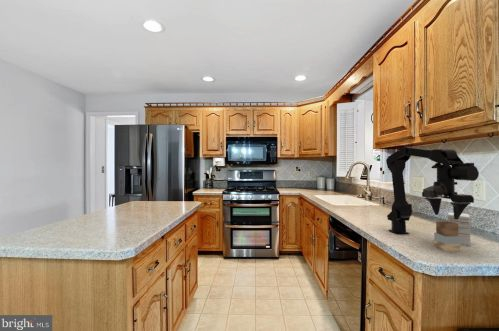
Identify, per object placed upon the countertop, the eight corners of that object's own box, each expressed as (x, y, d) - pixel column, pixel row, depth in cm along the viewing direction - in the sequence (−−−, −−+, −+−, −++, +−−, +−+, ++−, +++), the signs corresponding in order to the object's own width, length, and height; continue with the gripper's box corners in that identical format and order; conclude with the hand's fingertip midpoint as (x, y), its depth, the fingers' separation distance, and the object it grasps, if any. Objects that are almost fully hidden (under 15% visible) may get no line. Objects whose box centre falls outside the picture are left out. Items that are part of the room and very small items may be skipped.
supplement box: (447, 239, 111) (447, 211, 111) (469, 242, 106) (469, 213, 106) (448, 243, 105) (447, 214, 105) (470, 246, 101) (470, 216, 101)
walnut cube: (436, 233, 102) (436, 221, 102) (447, 232, 102) (447, 221, 102) (446, 236, 97) (446, 224, 97) (458, 236, 97) (458, 223, 97)
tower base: (434, 246, 102) (434, 239, 102) (447, 246, 102) (447, 239, 102) (446, 251, 96) (446, 244, 96) (460, 251, 96) (460, 243, 96)
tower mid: (434, 239, 102) (434, 232, 102) (447, 239, 102) (447, 232, 102) (446, 244, 96) (446, 236, 96) (460, 243, 96) (460, 236, 96)
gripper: (410, 178, 108) (410, 213, 108) (447, 181, 89) (447, 222, 89) (433, 178, 109) (434, 212, 109) (475, 180, 90) (475, 222, 90)
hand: (445, 217), depth 99 cm, fingers open, 9 cm apart
